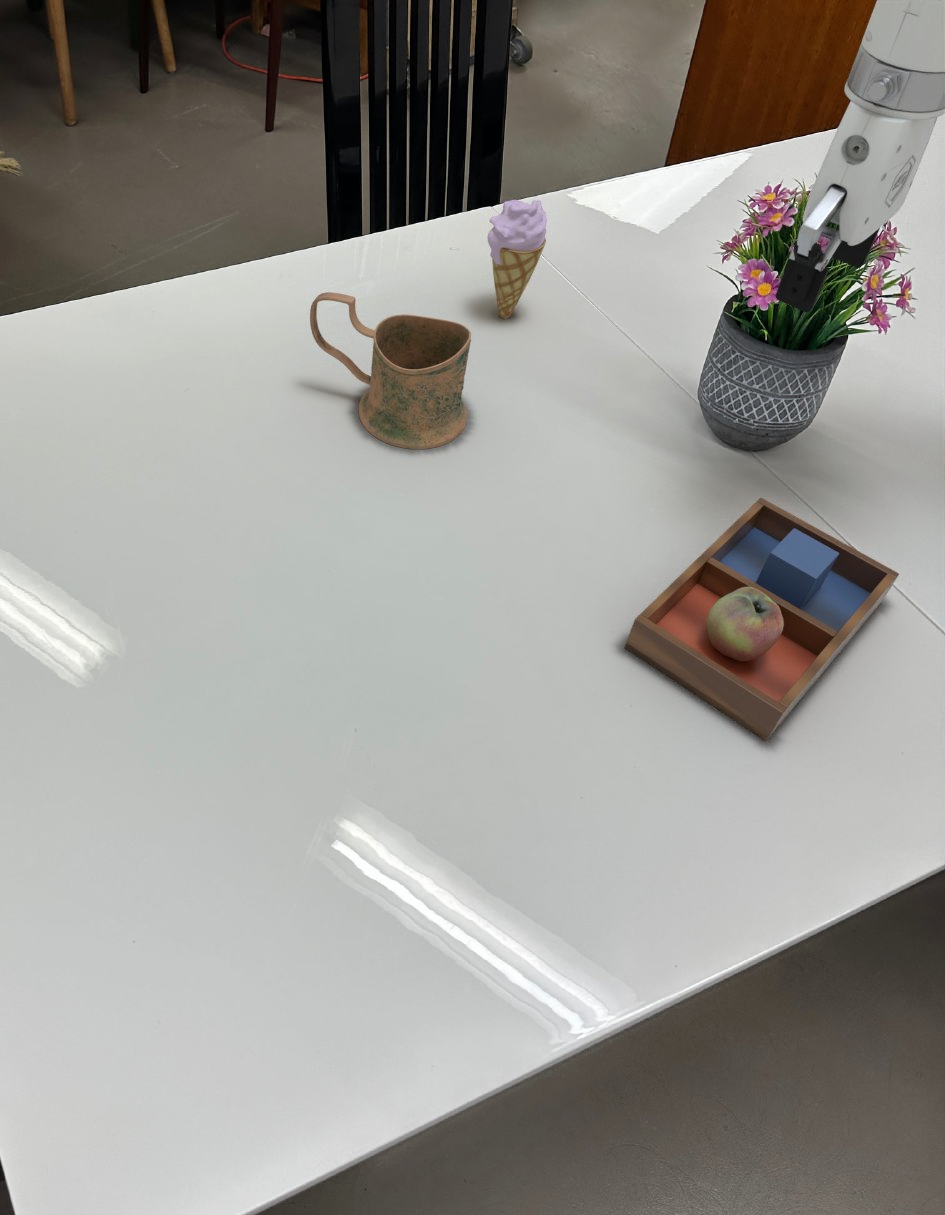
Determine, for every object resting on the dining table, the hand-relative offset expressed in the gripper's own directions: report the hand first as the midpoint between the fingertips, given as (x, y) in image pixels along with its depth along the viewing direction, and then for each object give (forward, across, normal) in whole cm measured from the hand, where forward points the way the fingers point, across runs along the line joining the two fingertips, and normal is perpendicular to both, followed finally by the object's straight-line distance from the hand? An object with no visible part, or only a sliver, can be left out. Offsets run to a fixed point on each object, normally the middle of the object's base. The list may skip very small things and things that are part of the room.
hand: (819, 282), depth 93 cm
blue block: (+22, -11, -11) cm, 27 cm away
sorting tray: (+23, -16, -11) cm, 30 cm away
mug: (+23, -16, +33) cm, 44 cm away
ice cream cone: (+23, +6, +35) cm, 42 cm away
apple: (+22, -21, -11) cm, 33 cm away
